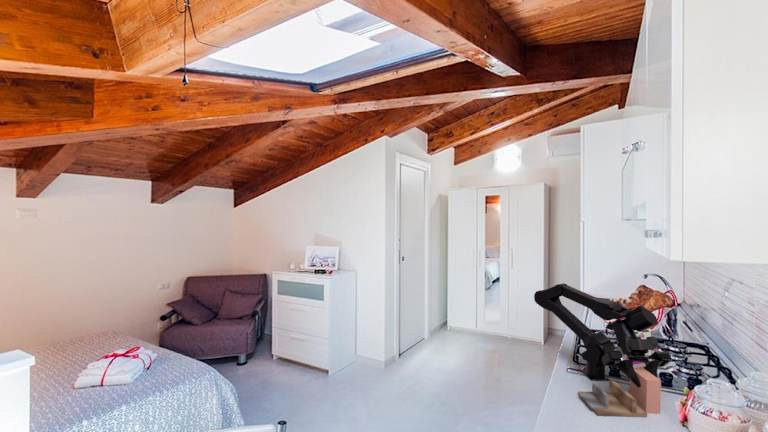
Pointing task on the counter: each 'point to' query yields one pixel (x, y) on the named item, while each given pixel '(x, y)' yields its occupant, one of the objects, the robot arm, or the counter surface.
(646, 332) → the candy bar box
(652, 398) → the pink rectangular block
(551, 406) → the counter surface
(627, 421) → the counter surface
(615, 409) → the book rack
